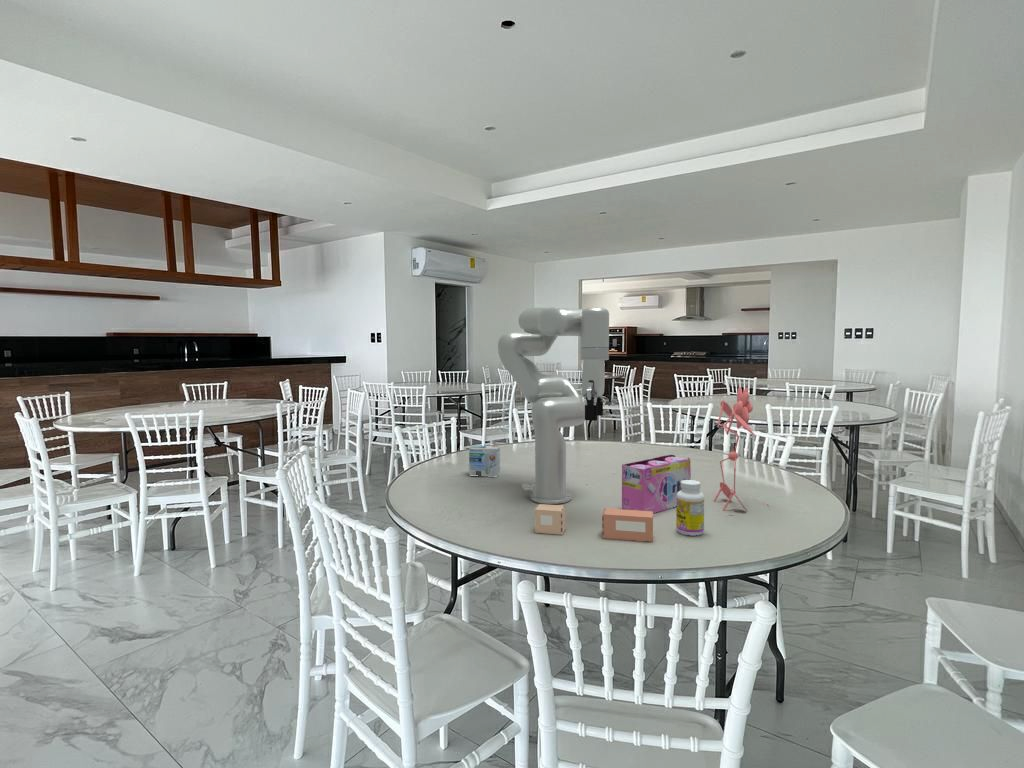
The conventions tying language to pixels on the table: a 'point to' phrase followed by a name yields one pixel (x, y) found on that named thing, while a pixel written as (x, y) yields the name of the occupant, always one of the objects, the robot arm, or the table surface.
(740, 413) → the figurine
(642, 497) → the gum box
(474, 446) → the light bulb box
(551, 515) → the beige boxy piece
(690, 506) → the supplement bottle
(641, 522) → the cardboard box
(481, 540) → the table surface
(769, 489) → the table surface
